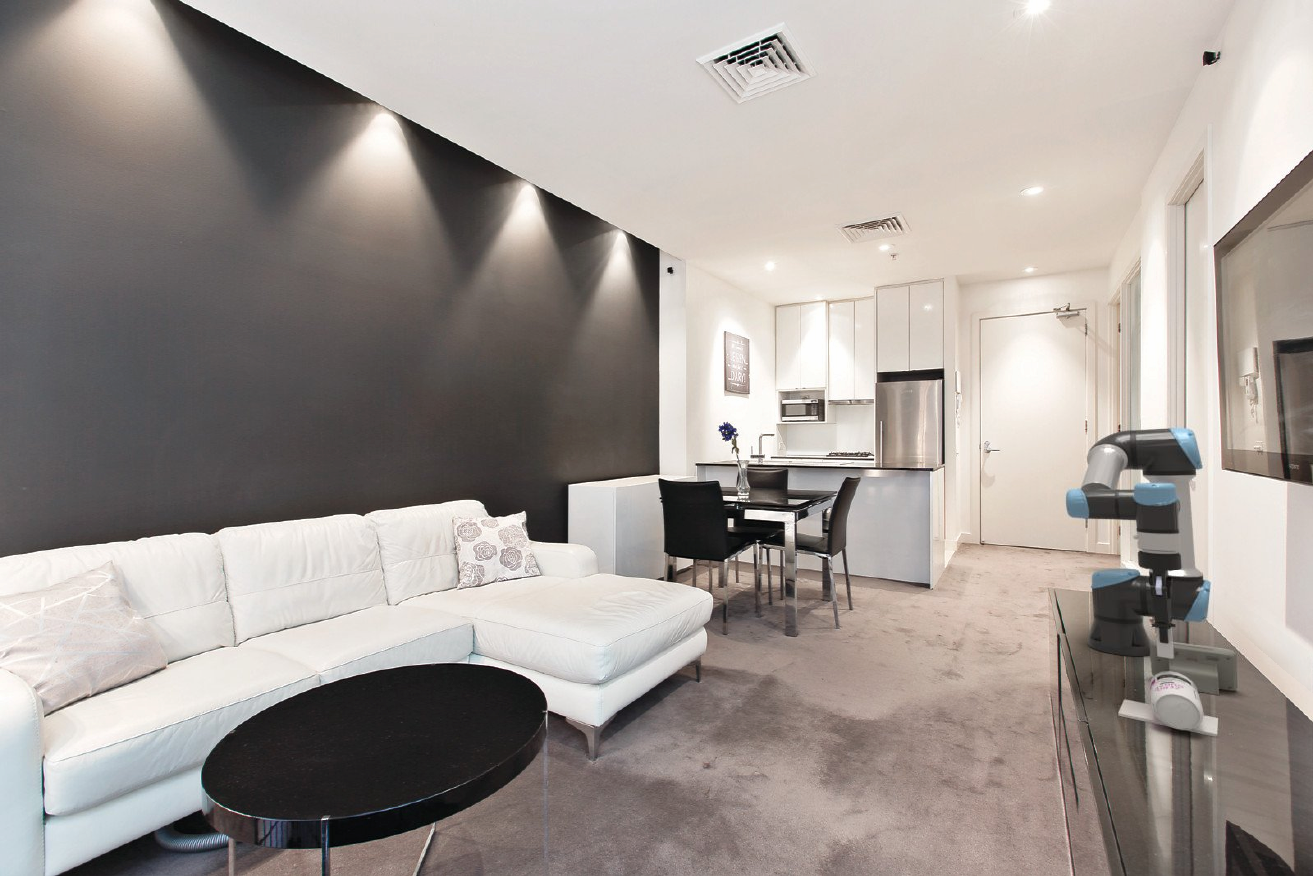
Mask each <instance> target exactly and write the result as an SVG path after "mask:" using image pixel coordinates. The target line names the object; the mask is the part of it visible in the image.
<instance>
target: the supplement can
mask: <svg viewBox="0 0 1313 876" xmlns="http://www.w3.org/2000/svg"><path fill="white" fill-rule="evenodd" d="M1149 691H1150V705H1152V709H1153V712H1154V713H1155V715H1156V717H1157V718H1158V719H1159V720H1160V721H1162V722H1163V723H1164V724H1166V725H1168V726H1170V728H1172V729H1176V730H1180V731H1187V730H1191V729H1193V728H1196V727H1198V726H1199V725H1200V724H1201V723H1202V721H1203V717H1204V709H1203V705H1202V701H1201V698H1200V697H1201V696H1200V694H1199V692H1198V690H1197V688H1196V686H1195V685H1194V683H1193V682H1192V681H1191V680H1190V679H1189V678H1187V677H1186V676H1184V675H1182V674H1180V673H1177V672H1172V671H1165V672H1160V673H1158V674H1156V675H1155V676H1152V678H1151V679H1150V684H1149ZM1168 726H1167V727H1168Z"/></svg>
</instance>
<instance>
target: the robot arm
mask: <svg viewBox="0 0 1313 876" xmlns="http://www.w3.org/2000/svg"><path fill="white" fill-rule="evenodd" d="M1199 449H1200V448H1199V445H1198V442H1197V438H1196V434H1195V432H1194V431H1193V430H1192V429H1190V428H1185V427H1180V428H1179V427H1178V428H1177V427H1175V428H1174V427H1169V428H1154V429H1152V428H1151V429H1134V430H1133V429H1131V430H1130V429H1127V430H1122V431H1117V432H1114V433H1111V434H1109V435H1107V436H1105V437H1103V438H1101V439H1100V440H1098V441H1096V442H1095V443H1094V444H1093V445H1092V446H1091V448H1090V449H1089V450H1088V453H1087V456H1086V462H1087V468H1086V471H1085V474H1084V477H1083V480H1082V483H1081V486H1080V488H1077V489H1076V488H1075V489H1074V488H1073V489H1069V490H1067V492H1066V495H1065V506H1066V507H1065V508H1066V512H1067V515H1068V517H1070V518H1075V519H1083V520H1115V521H1116V520H1119V521H1120V520H1121V521H1135V523H1136V524H1135V525H1136V529H1135V530H1136V534H1134V535H1133V539H1135V540H1137V548H1138V549H1139V550H1138V552H1137V560H1138V561H1137V562H1138V564H1137V565H1138V566H1139V567H1140V568H1141V569H1145V570H1148V574H1149V575H1142V574H1141V572H1140V570H1138V569H1135V568H1108V569H1101V570H1097V571H1095V572H1093V573H1092V575H1091V586H1090V588H1091V593H1092V595H1091V596H1092V611H1093V612H1092V614H1093V622H1092V624H1091V627H1090V629H1089V633H1088V635H1087V644H1088V646H1089V647H1091V648H1092V649H1094V650H1097V651H1100V652H1102V653H1103V652H1104V653H1107V654H1108V653H1109V654H1114V655H1119V656H1127V657H1128V656H1130V657H1144V656H1150V641H1151V640H1150V637H1149V636H1148V633H1147V631H1146V629H1145V626H1144V622H1143V621H1144V620H1143V617H1148V618H1149V617H1150V618H1154V623H1151V628H1155V640H1156V641H1157V656H1159V657H1165V658H1172V659H1173V658H1174V653H1173V642H1174V641H1173V640H1174V639H1173V628H1176V624H1175V623H1172V621H1173V620H1174V621H1175V620H1176V621H1181V622H1184V623H1186V622H1192V623H1203V622H1205V621H1206V620H1207V618H1208V613H1209V604H1210V593H1211V584H1212V582H1211V581H1209V580H1208V579H1204V573H1203V572H1201V571H1200V569H1198V568H1197V567H1196V560H1195V559H1196V556H1195V546H1194V545H1195V544H1194V543H1195V541H1194V529H1193V514H1192V502H1191V500H1192V499H1191V488H1190V487H1191V486H1190V482H1191V481H1192V480H1193V479H1194V478H1196V477H1197V471H1198V470H1201V469H1203V461H1202V459H1201V455H1200V450H1199ZM1127 470H1128V471H1129V470H1134V471H1136V470H1138V471H1139V470H1141V471H1142V477H1143V478H1145V479H1146V480H1147V481H1148V482H1140V483H1139V482H1138V483H1135V485H1134V486H1133V487H1134V488H1133V489H1118V485H1119V481H1120V478H1121V473H1122V472H1123V471H1127Z"/></svg>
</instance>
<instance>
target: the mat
mask: <svg viewBox="0 0 1313 876" xmlns="http://www.w3.org/2000/svg"><path fill="white" fill-rule="evenodd" d="M1117 716H1118V717H1124V718H1127V719H1132V720H1136V721H1141V722H1145V723H1149V724H1150V723H1151V724H1155V725H1160V726H1164V727H1170V726H1168V725H1166V724H1164V723H1163V722H1162V721H1160V720H1159V719H1158V718H1157V717H1156V715H1155V713H1154V712H1153V709H1152V705H1151V703H1150V704H1149V703H1144V702H1139V701H1135V700H1131V699H1130V700H1129V699H1126V698H1125V699H1123V701H1122V704H1121V706H1120V708H1119V710H1118V715H1117ZM1170 728H1171V727H1170ZM1186 731H1187V732H1191V733H1197V734H1200V735H1206V736H1210V737H1215V738H1218V732H1219V718H1218V717H1214V716H1209V715H1204V717H1203V721H1202V723H1201V724H1200V725H1199V726H1198V727H1196V728H1193V729H1191V730H1186Z"/></svg>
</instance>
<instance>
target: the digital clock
mask: <svg viewBox="0 0 1313 876" xmlns="http://www.w3.org/2000/svg"><path fill="white" fill-rule="evenodd" d="M1173 653H1174V658H1173V659H1172V658H1165V657H1159V656H1157V641H1156V639H1153V640H1150V655H1149V656H1150V666H1151V675H1152V677H1154V676H1155V675H1156V674H1158V673H1160V672H1165V671H1172V672H1177V673H1180V674H1182V675H1184V676H1186V677H1187V678H1189V679H1190V680H1191V681H1192V682H1193V683H1194V685H1195V686H1196V688H1197V690H1198V693H1202V692H1204V693H1203V694H1209V695H1216V696H1220V690H1225V691H1230V692H1231V691H1236V690H1237V689H1238V684H1239V683H1238V665H1237V664H1238V662H1237V660H1238V659H1237V653H1236V651H1235V650H1231V649H1228V648H1221V647H1215V646H1207V645H1199V644H1194V643H1193V644H1191V643H1185V642H1183V643H1182V642H1177V641H1176V642H1175V641H1173Z"/></svg>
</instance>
